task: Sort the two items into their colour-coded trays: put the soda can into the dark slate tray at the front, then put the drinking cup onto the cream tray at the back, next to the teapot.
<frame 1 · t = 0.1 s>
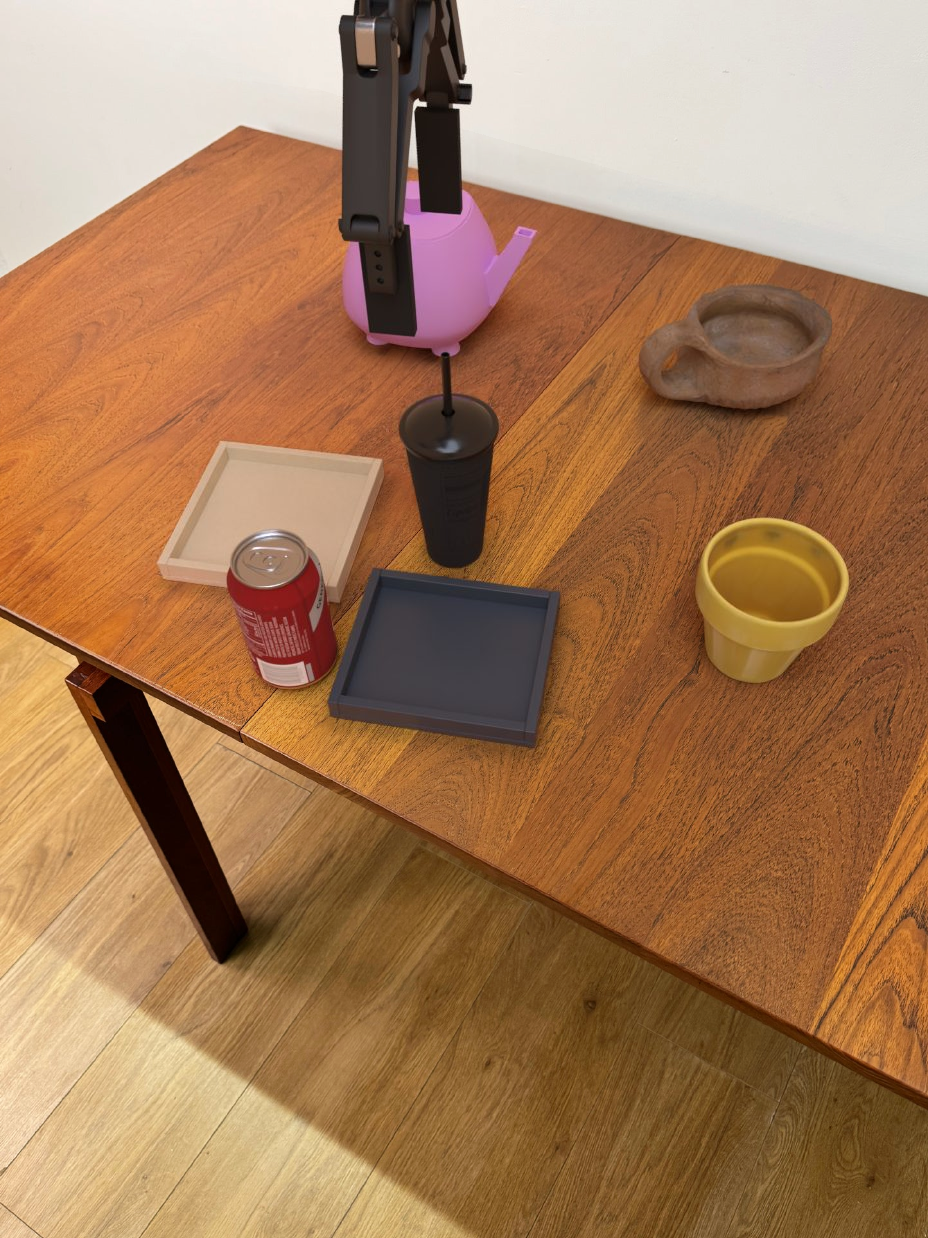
hand: (419, 267, 62), 29 cm above the table, tool pointing down, fingers open, 13 cm apart
cup tray: (278, 525, 88), on the table
can tray: (449, 660, 79), on the table
bowl: (722, 393, 99), on the table
soda can: (296, 660, 79), on the table
teapot: (437, 335, 106), on the table
flower pot: (747, 652, 79), on the table
drinking cup: (454, 548, 86), on the table
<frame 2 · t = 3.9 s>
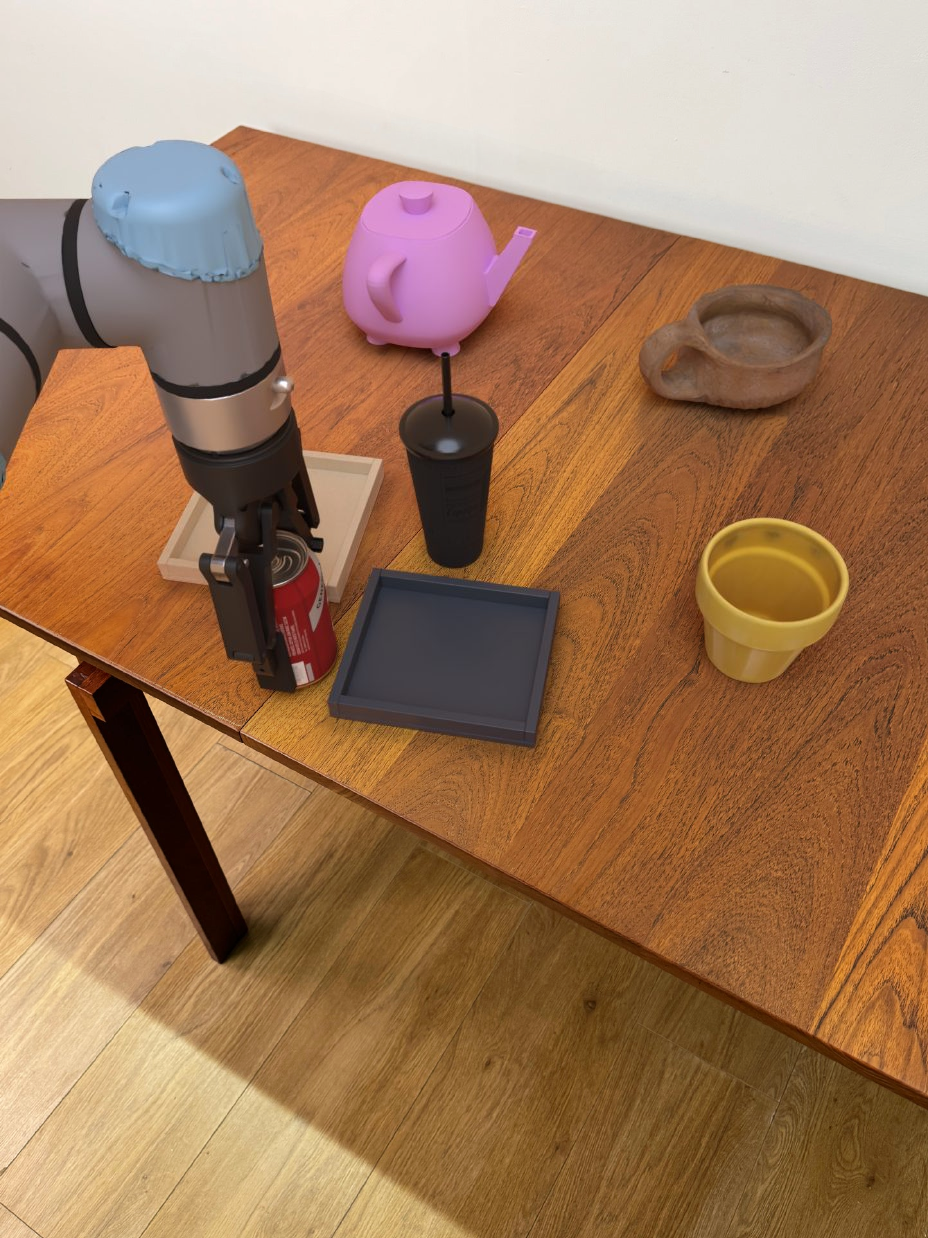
hand: (293, 647, 78), 2 cm above the table, tool pointing down, fingers closed on soda can, 7 cm apart
soda can: (296, 660, 79), on the table, touching gripper
everything else where it was.
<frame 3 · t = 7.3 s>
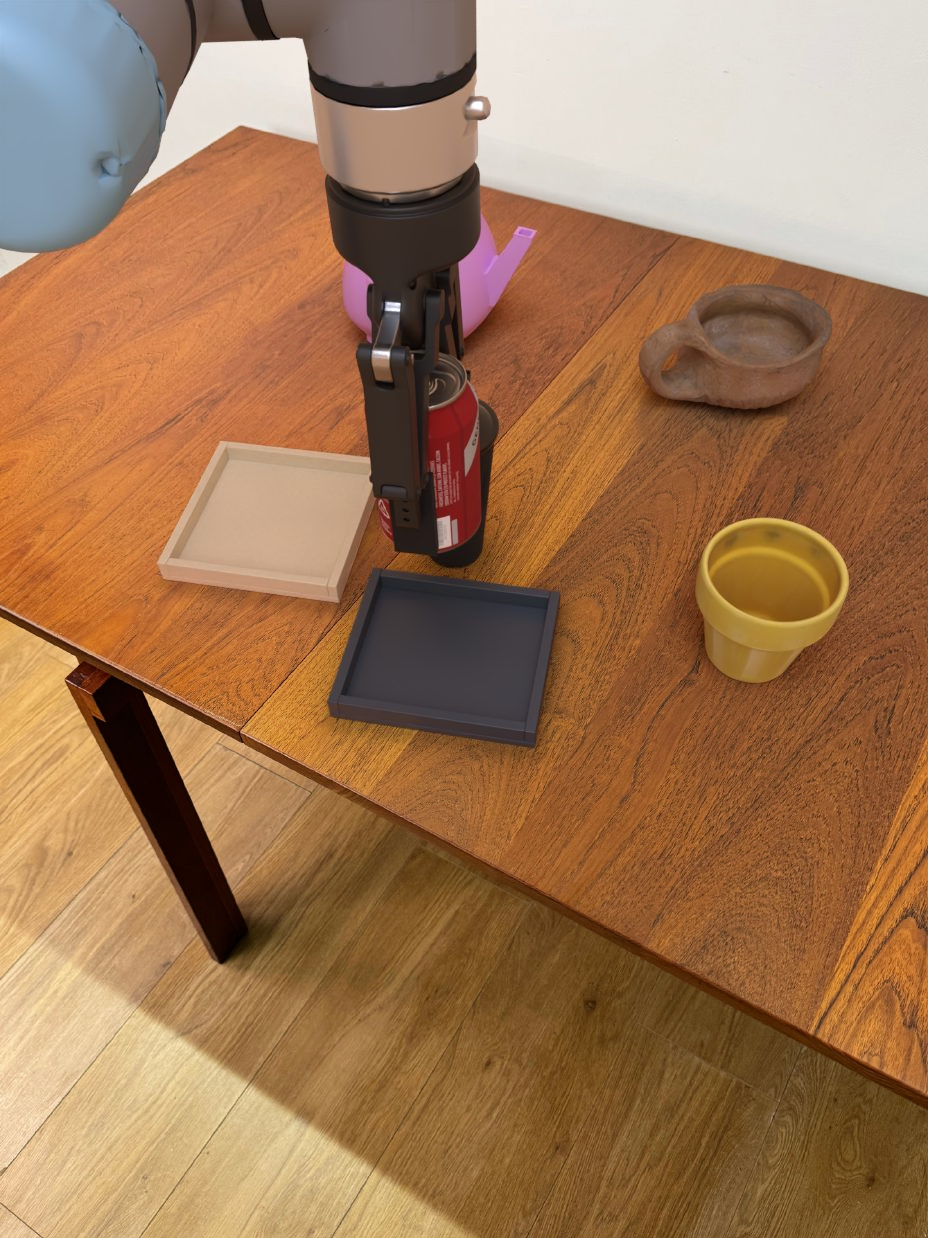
hand: (429, 508, 66), 17 cm above the table, tool pointing down, fingers closed on soda can, 7 cm apart
soda can: (431, 526, 67), point 15 cm above the table, touching gripper
everything else where it was.
when the fingers open (2 cm above the table, at t = 10.9 s): soda can stays where it is, resting on can tray.
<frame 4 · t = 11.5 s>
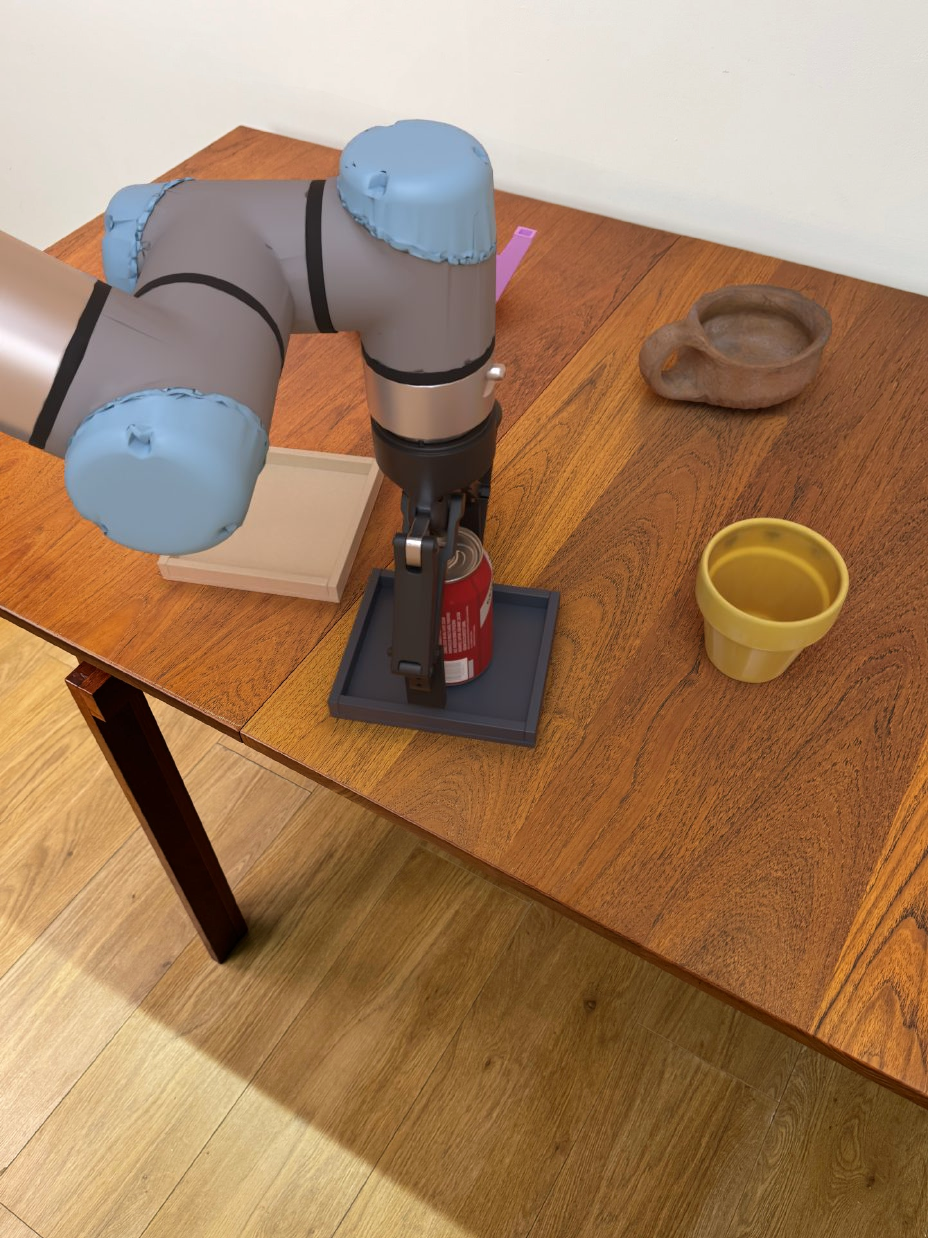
hand: (446, 629, 75), 4 cm above the table, tool pointing down, fingers open, 13 cm apart
soda can: (449, 657, 78), resting on can tray
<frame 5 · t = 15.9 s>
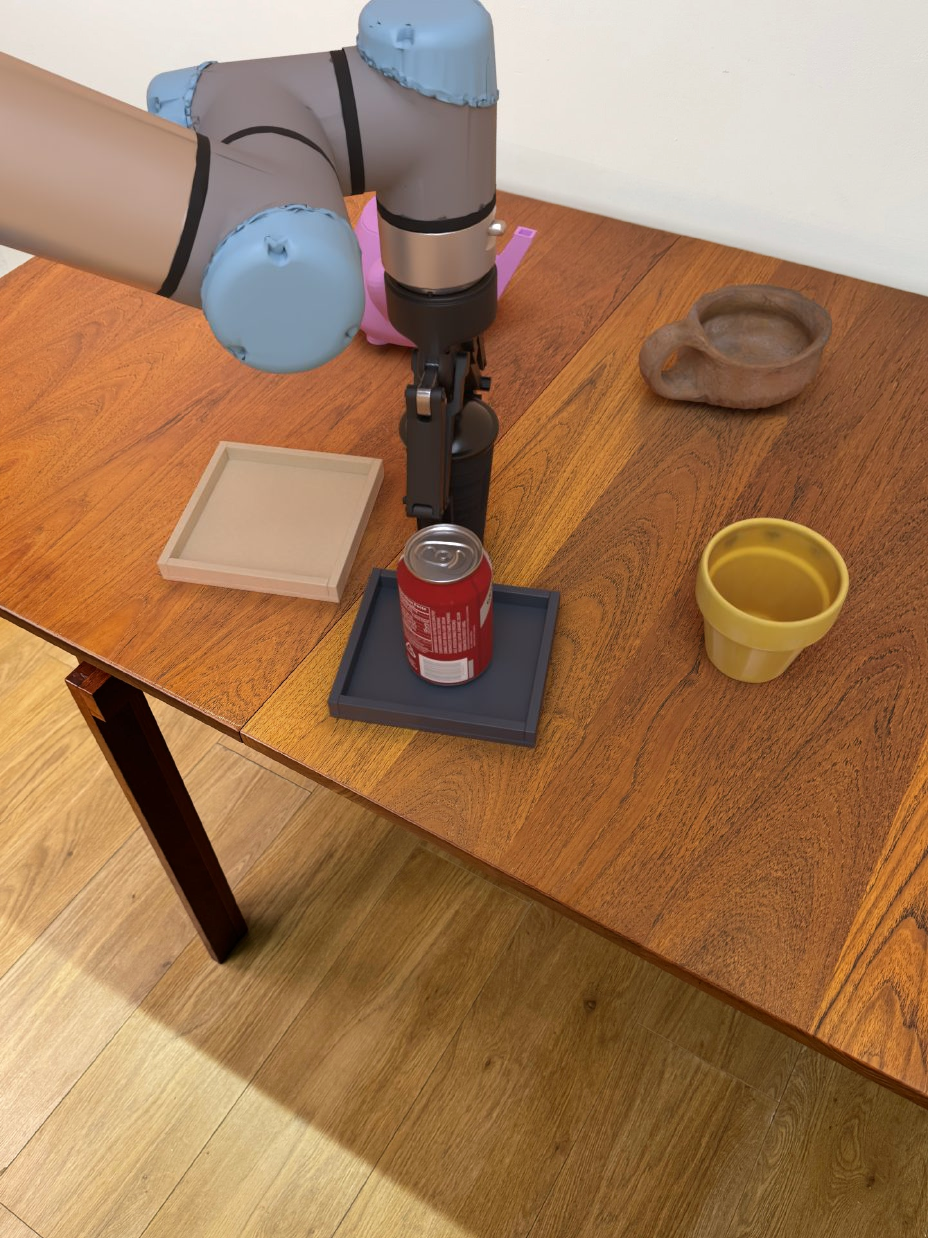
hand: (452, 504, 82), 5 cm above the table, tool pointing down, fingers open, 11 cm apart
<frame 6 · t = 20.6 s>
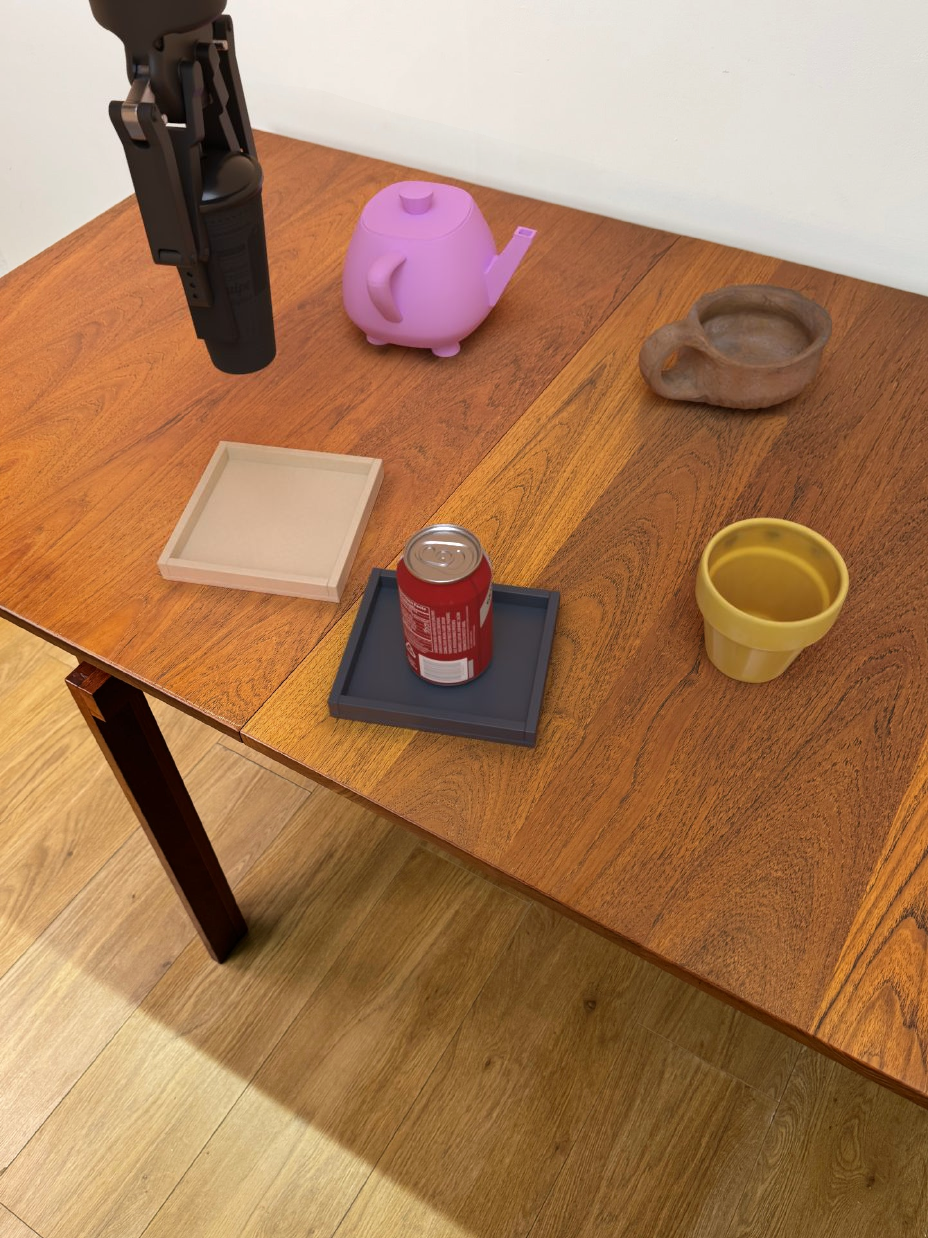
hand: (233, 309, 71), 22 cm above the table, tool pointing down, fingers closed on drinking cup, 6 cm apart
drinking cup: (244, 357, 74), point 18 cm above the table, touching gripper
everything else where it was.
when the fingers open (4 cm above the table, at t = 24.8 s): drinking cup stays where it is, resting on cup tray.
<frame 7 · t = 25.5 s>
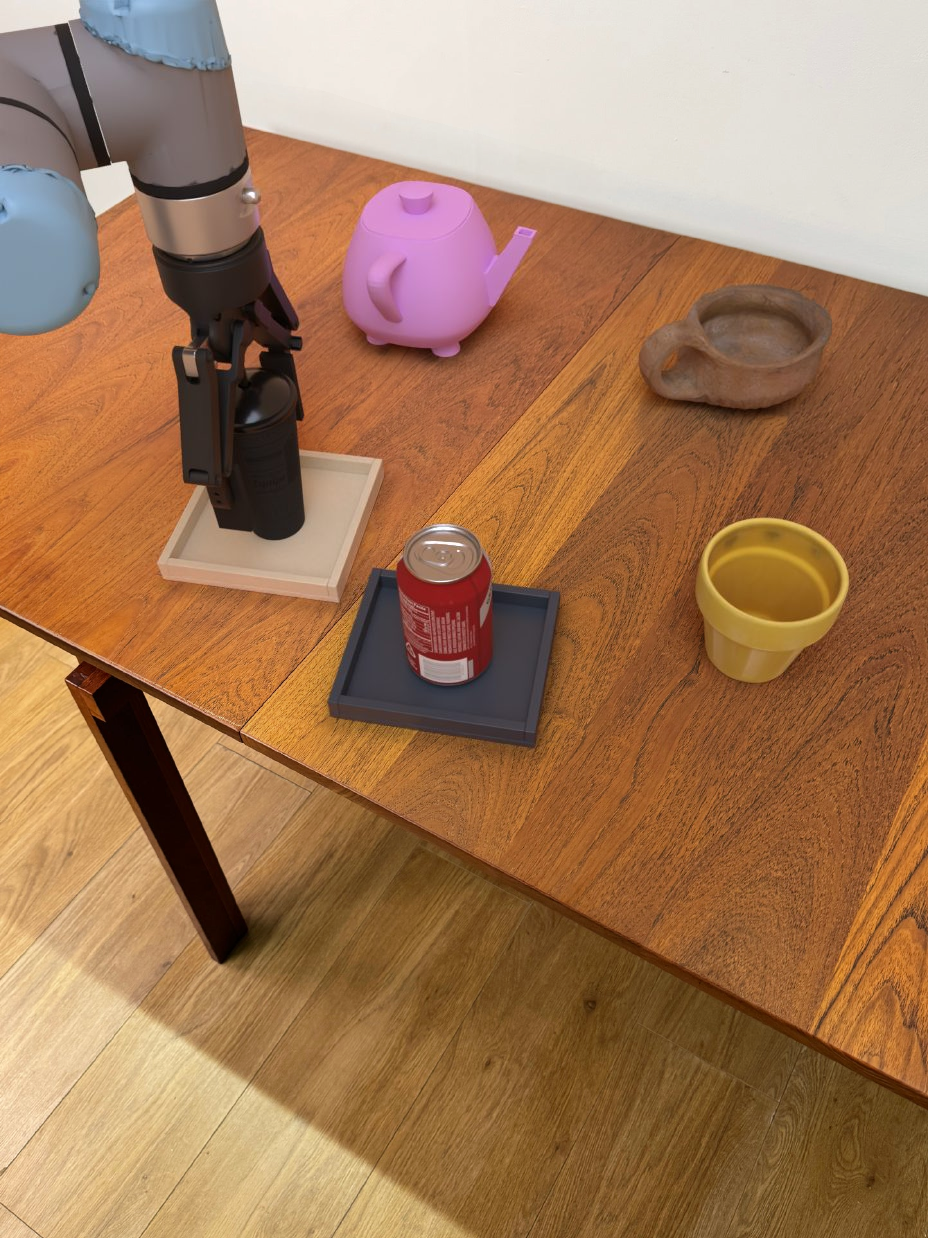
hand: (264, 469, 83), 7 cm above the table, tool pointing down, fingers open, 13 cm apart
drinking cup: (278, 522, 88), resting on cup tray
everything else where it was.
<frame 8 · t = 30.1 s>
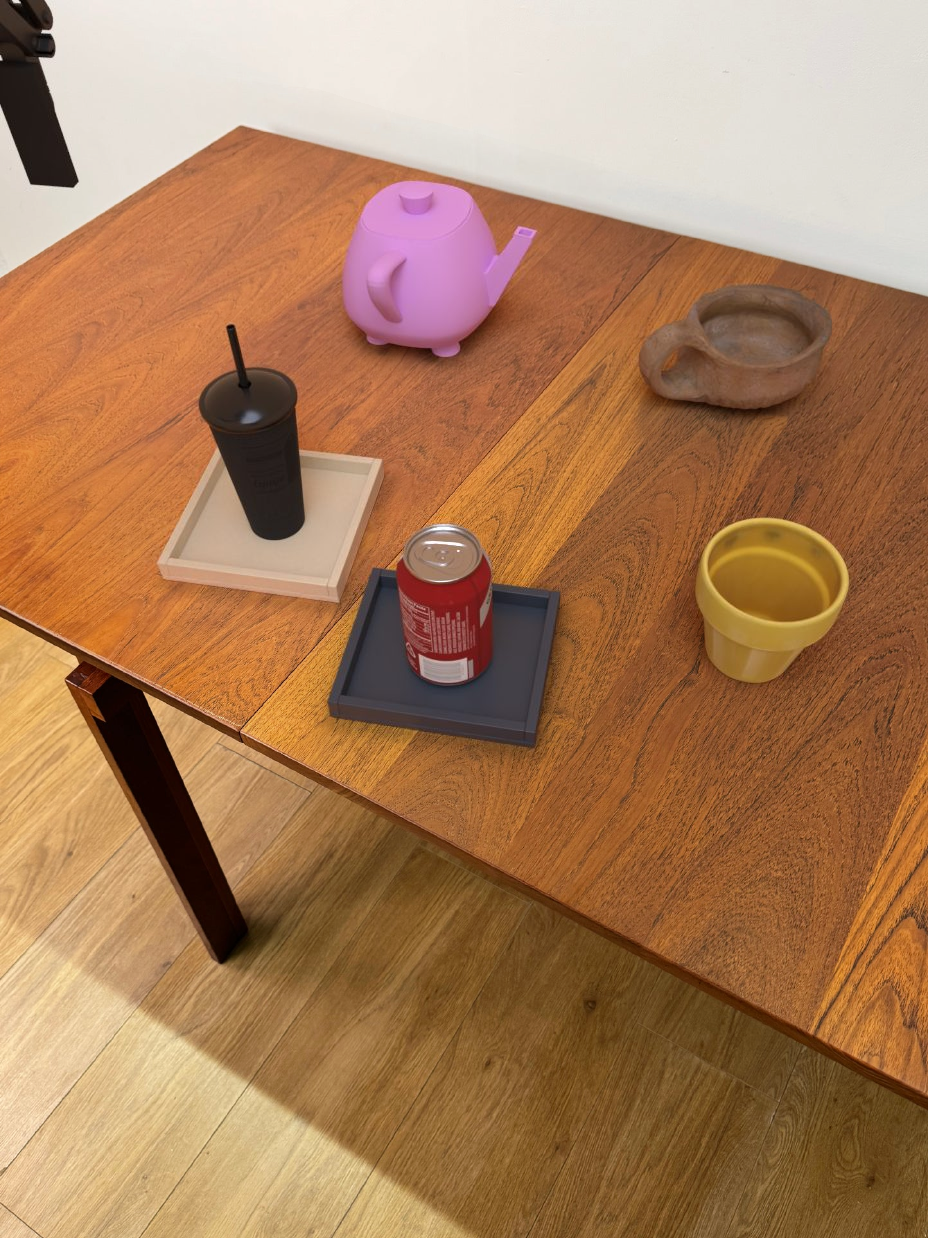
nothing on the table moved.
at the end: soda can inside the target area in the can tray (0.0 cm from its centre), point 0.4 cm above the can tray's base; drinking cup inside the target area in the cup tray (0.0 cm from its centre), point 0.4 cm above the cup tray's base; drinking cup 31.0 cm from the teapot (horizontally) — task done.
